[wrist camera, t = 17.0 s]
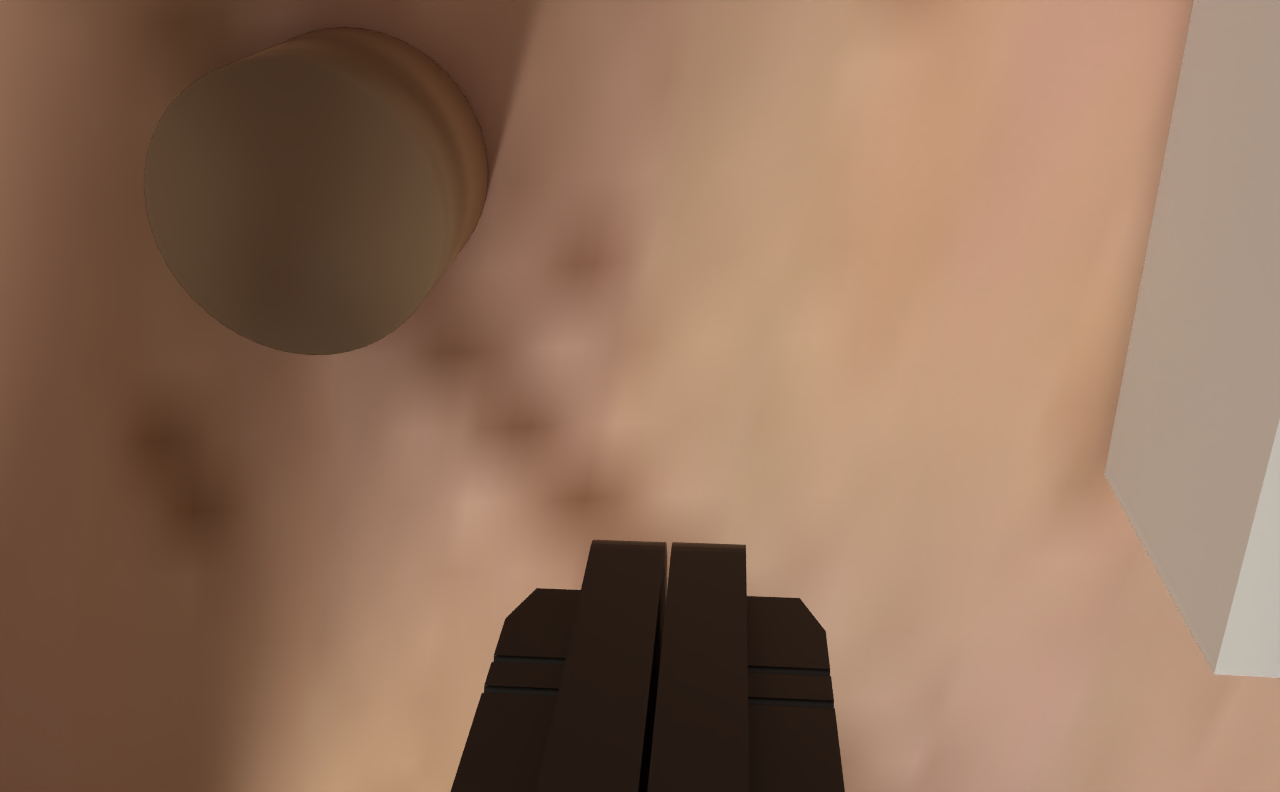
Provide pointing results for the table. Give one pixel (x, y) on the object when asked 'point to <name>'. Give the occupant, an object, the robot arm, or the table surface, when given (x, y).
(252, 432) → the table surface
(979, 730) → the table surface
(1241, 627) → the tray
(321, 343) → the pedestal
